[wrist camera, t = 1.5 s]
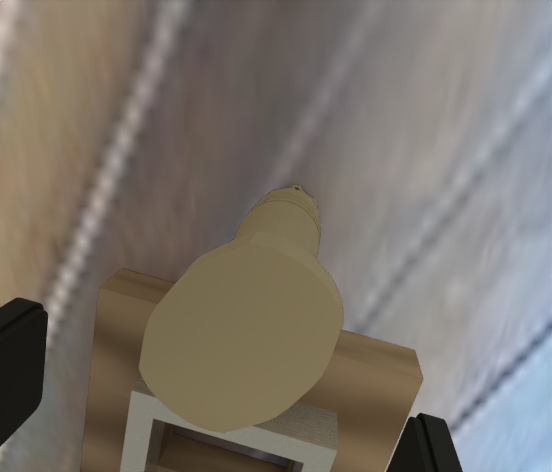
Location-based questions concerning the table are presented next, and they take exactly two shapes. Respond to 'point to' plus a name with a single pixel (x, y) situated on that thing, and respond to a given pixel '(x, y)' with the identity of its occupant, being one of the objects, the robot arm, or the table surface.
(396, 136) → the table surface
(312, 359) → the handle
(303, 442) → the collar
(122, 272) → the board
